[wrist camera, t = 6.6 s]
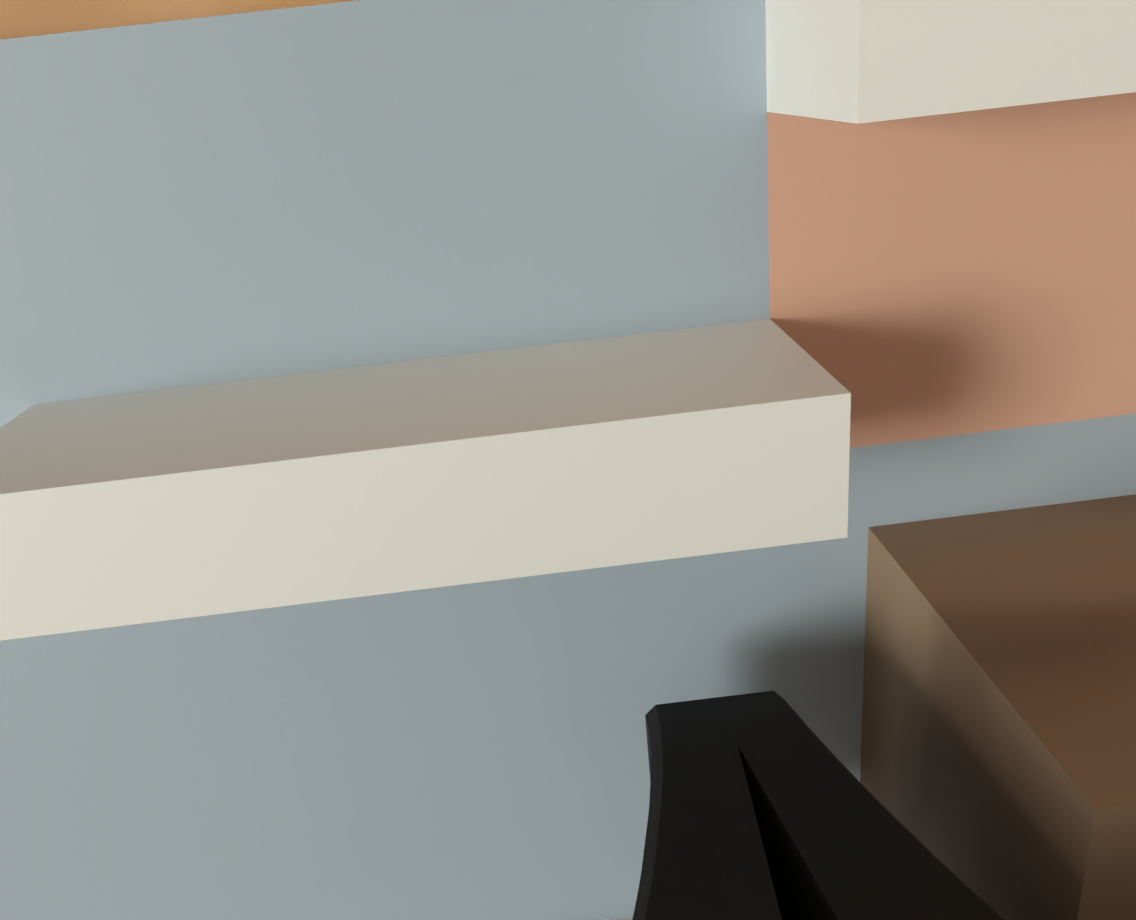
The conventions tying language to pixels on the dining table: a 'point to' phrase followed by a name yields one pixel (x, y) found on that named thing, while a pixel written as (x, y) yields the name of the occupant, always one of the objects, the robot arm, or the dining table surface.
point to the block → (1010, 701)
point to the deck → (507, 413)
